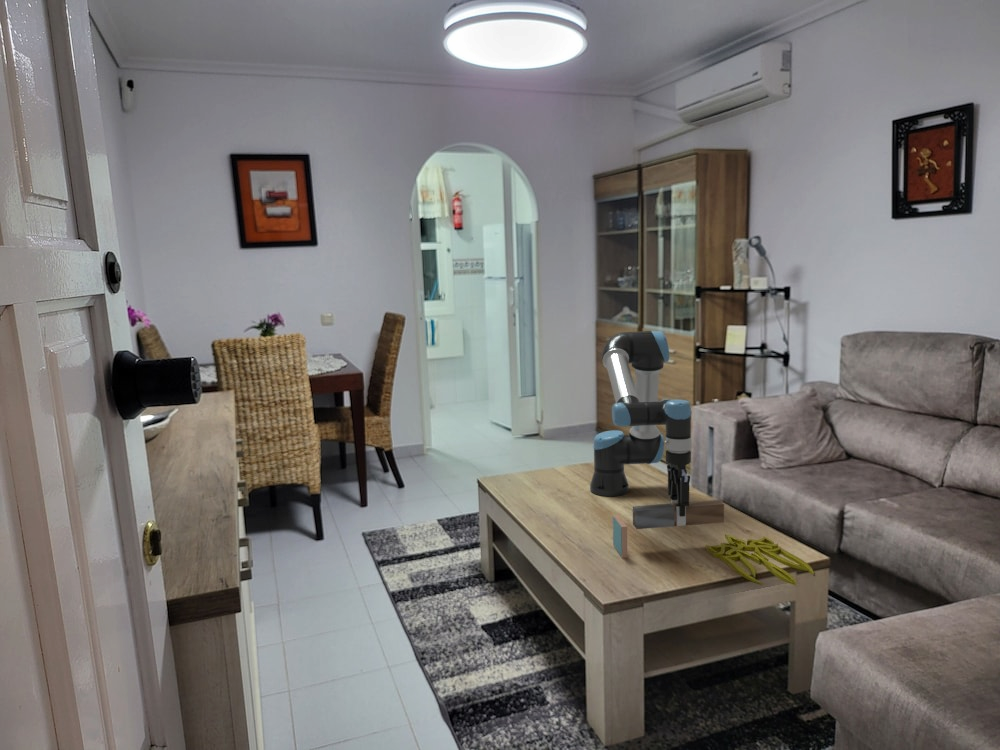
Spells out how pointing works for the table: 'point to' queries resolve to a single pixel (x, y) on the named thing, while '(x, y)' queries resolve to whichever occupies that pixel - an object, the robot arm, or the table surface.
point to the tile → (620, 536)
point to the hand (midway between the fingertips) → (678, 522)
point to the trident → (757, 557)
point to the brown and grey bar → (668, 514)
